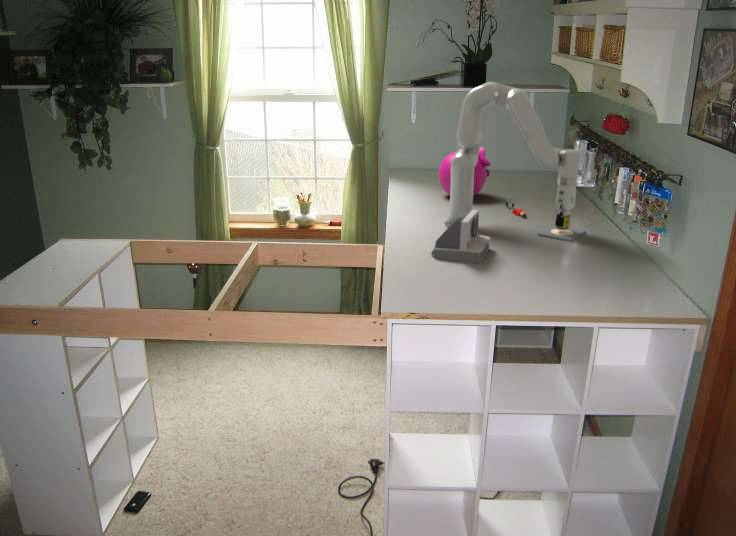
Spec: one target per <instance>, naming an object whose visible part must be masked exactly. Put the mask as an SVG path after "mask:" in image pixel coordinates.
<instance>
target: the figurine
mask: <svg viewBox="0 0 736 536" xmlns="http://www.w3.org/2000/svg"><path fill="white" fill-rule="evenodd" d="M456 152H457V151H454V152H452V153H450V154H448V155H446V157H445V158H444V159H443V160H442V161H441V163H440V166H439V169H438V180H439V184H440V186H441V189H442V190H443V191H444V192H445V193H446V194H447V195H449V196H450V188H451V161H452V159H453V157H454V155H455V154H456ZM490 166H491V163H490V162H489V160H488V159H487V157H486V149H485V148H484V147H482V146H480V150H479V156H478V161H477V164H476V166H475V167H474V188H473V197H474V196H475V195H477V194H479V193H480V192H481V191H482V189H483V188H484V187H485V184H486V182H487V177H489V176H490V170H489V169H487V167H490Z"/></svg>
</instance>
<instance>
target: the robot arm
mask: <svg viewBox="0 0 736 536" xmlns="http://www.w3.org/2000/svg"><path fill="white" fill-rule="evenodd" d="M490 105H495V106H498V107H502V108H507V111H508V112H509V113H510V115H511V117H512V119H513V121H514V122H515V124H516V125H517V128H518V129H519V130H520V133H521V134H522V137H523V138H524V140H525V142H527V143H526V144H527V145H528V147H529V148H530V151H531V152H532V154H533V156H534V157H535V159H536V161H537V163H538V164H539V165H540V167H541V168H542V169H544V170H547V171H551V170H554V169H556V168H557V167H558V173H557V180H556V181H557V182H556V184H557V191H556V198H555V203H554V204H555V213H556V214H555V224H554V225H555V226H558V227H563V225H564V213H565V211H568V210H569V211H570V213H571V211H572V209H573V208H575V206H576V197H577V196H576V195H577V184H578V178H579V177H578V176H579V168H580V160H581V152H580V150H577V149H570V148H566V149H563V148H558V147H553V146H552V144H551V142H550V140H549V138H548V135H547V134H546V131H545V128H544V124H543V122H542V120H541V118H540V116H539V115H538V113H537V111H536V110H535V108H534V107H533V105H532V103H531V101H530V100H529V95H528V93H527V91H525V90H524V89H521V88H517V87H513V86H510V85H505V84H502V83H499V82H495V81H486V82H485V83H483V84H481V85H478V86H477V87H474V88H473V89H471V90H469V92H468V93H467V94H466V96H465V97H464V99H463V101H462V105H461V110H460V116H459V120H458V121H459V122H458V126H457V127H458V128H457V132H456V142H457V147H456V151H455V152H456V154H455V155H454V157H453V159H452V161H451V188H450V195H449V213H448V214H449V215H448V220H445V221H444V225H445V227H446V228H449V226H450V225H451V224H452V223H453V222H454V221H455V220H456V219H457V218H458V217H459V216H460V215H461V214H462V213H463V212H464V211H472V210H473V205H474V204H473V202H474V196H473V188H474V167H475V166H476V164H477V161H478V156H479V150H480V147H481V143H482V138H483V137H482V136H483V133H482V129H481V121H482V119H483V118H482V116H483V112H484V111H483V110H484V109H485V108H486V107H487V106H490ZM561 208H563V210H562V209H561ZM560 211H562V213H561V212H560Z"/></svg>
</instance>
